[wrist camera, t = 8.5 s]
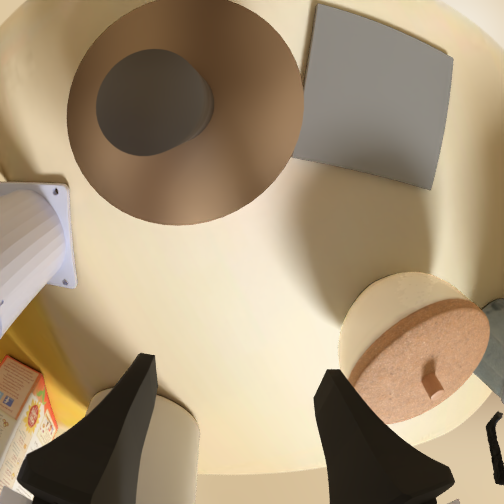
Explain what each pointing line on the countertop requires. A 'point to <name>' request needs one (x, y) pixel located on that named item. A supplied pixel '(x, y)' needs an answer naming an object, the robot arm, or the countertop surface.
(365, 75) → the mat
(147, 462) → the cylinder vase
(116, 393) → the robot arm
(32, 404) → the cracker box
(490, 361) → the moka pot
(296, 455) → the countertop surface
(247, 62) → the lid
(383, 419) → the lidded jar
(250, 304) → the countertop surface
